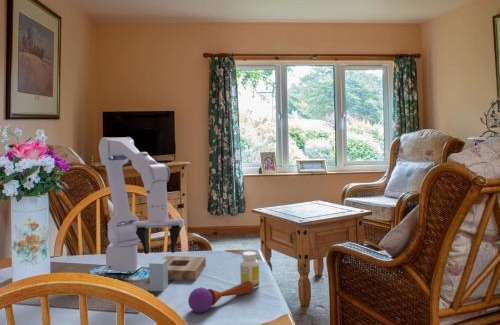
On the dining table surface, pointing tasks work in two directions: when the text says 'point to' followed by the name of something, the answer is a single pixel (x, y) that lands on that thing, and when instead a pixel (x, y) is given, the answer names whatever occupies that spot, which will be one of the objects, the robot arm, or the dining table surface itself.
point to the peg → (158, 274)
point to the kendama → (214, 296)
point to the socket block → (184, 267)
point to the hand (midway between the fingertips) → (160, 252)
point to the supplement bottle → (250, 269)
